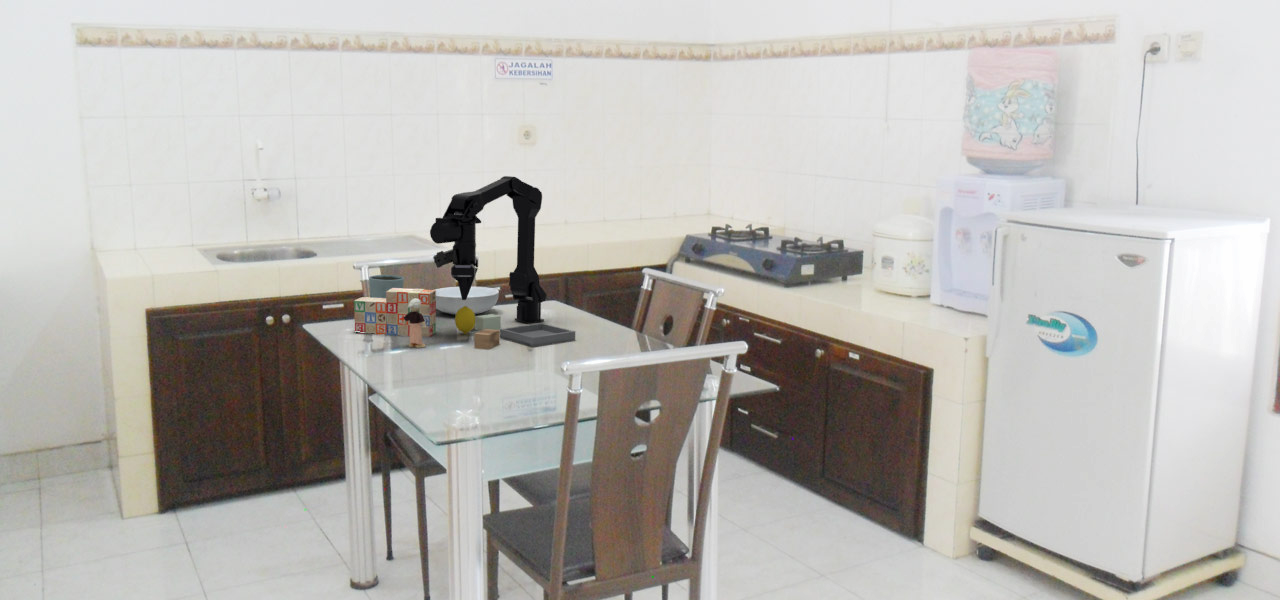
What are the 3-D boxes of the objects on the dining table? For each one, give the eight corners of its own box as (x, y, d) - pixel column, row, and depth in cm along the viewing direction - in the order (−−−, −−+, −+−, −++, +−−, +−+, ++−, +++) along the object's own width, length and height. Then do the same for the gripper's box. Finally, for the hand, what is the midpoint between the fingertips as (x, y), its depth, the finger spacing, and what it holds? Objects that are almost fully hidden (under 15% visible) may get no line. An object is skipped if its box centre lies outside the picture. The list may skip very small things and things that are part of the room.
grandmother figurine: (432, 346, 283) (431, 298, 281) (424, 348, 279) (424, 300, 277) (406, 343, 285) (405, 296, 283) (398, 346, 282) (397, 298, 280)
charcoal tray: (542, 331, 305) (542, 323, 305) (575, 340, 295) (575, 331, 294) (499, 338, 295) (499, 329, 295) (532, 347, 285) (532, 337, 284)
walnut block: (485, 343, 289) (485, 328, 288) (499, 344, 288) (499, 330, 287) (474, 348, 282) (474, 333, 281) (488, 350, 281) (488, 335, 280)
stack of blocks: (354, 333, 297) (353, 289, 295) (362, 329, 303) (361, 286, 301) (430, 337, 295) (429, 292, 293) (436, 332, 301) (436, 289, 299)
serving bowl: (472, 305, 345) (472, 283, 344) (512, 314, 330) (512, 292, 329) (416, 312, 331) (416, 289, 329) (456, 322, 316) (456, 299, 315)
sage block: (492, 327, 310) (492, 314, 309) (500, 329, 307) (500, 316, 306) (475, 330, 306) (475, 316, 305) (483, 332, 303) (483, 318, 302)
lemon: (456, 332, 301) (455, 304, 300) (476, 332, 302) (476, 304, 301) (454, 336, 296) (454, 307, 295) (474, 336, 296) (474, 307, 295)
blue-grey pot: (369, 314, 325) (369, 274, 323) (404, 313, 327) (403, 274, 325) (369, 320, 315) (368, 279, 313) (405, 319, 318) (404, 279, 316)
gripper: (438, 236, 303) (438, 291, 306) (431, 244, 285) (432, 302, 287) (478, 236, 304) (478, 291, 307) (474, 245, 286) (474, 303, 288)
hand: (465, 296), depth 297 cm, fingers open, 9 cm apart
